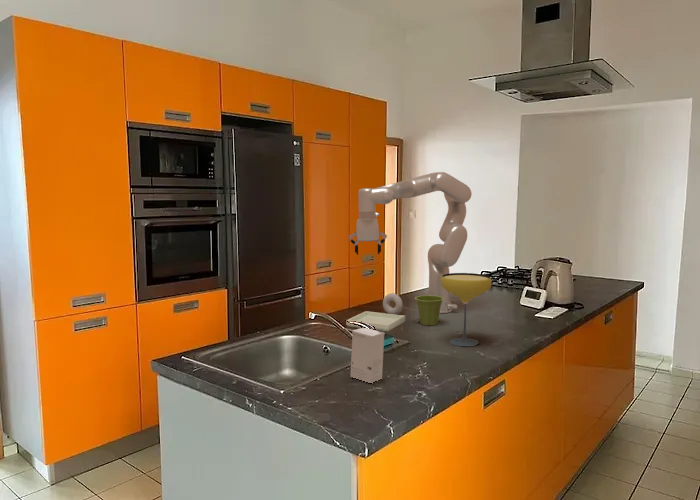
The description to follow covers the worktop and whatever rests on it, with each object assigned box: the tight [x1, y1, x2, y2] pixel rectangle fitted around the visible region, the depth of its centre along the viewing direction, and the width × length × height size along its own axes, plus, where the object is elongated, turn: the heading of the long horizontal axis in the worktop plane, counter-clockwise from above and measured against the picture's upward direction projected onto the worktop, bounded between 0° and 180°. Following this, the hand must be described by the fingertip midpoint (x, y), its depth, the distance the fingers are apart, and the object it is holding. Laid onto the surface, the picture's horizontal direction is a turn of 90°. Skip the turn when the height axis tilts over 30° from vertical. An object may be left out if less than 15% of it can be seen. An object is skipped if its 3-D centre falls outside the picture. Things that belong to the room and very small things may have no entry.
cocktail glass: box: [441, 272, 492, 347], centre depth 194 cm, size 18×18×25 cm
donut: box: [382, 293, 404, 315], centre depth 239 cm, size 10×3×10 cm, turn 57°
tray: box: [345, 310, 406, 332], centre depth 224 cm, size 19×19×2 cm
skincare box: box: [350, 328, 385, 384], centre depth 157 cm, size 8×6×15 cm
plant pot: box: [414, 294, 443, 327], centre depth 223 cm, size 12×12×11 cm
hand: (368, 253), depth 236 cm, fingers open, 9 cm apart
